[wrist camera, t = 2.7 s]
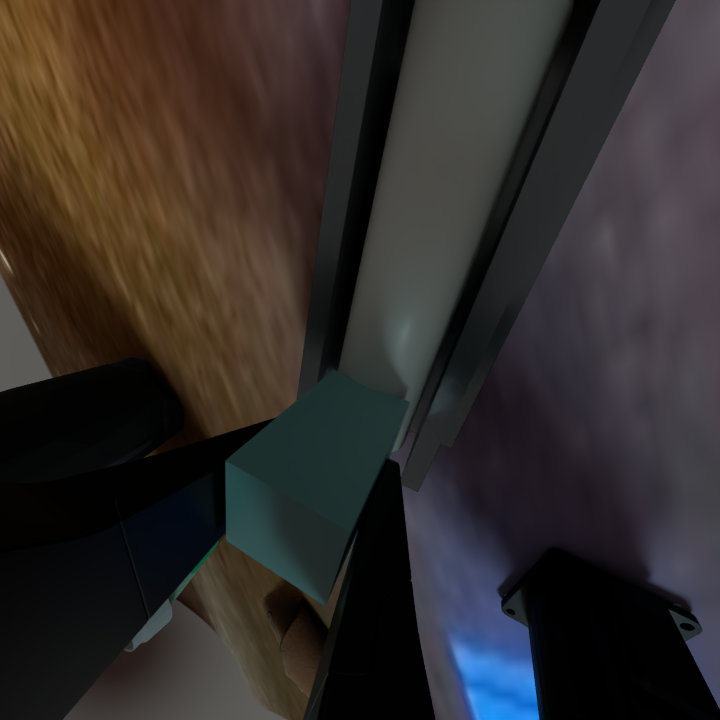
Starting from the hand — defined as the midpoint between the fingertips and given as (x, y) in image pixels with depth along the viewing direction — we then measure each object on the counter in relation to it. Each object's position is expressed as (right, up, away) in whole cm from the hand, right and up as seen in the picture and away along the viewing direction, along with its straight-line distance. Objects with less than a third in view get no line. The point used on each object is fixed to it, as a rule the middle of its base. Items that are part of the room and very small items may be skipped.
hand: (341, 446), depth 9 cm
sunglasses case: (-3, -30, +22) cm, 37 cm away
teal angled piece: (+3, +6, +2) cm, 7 cm away
